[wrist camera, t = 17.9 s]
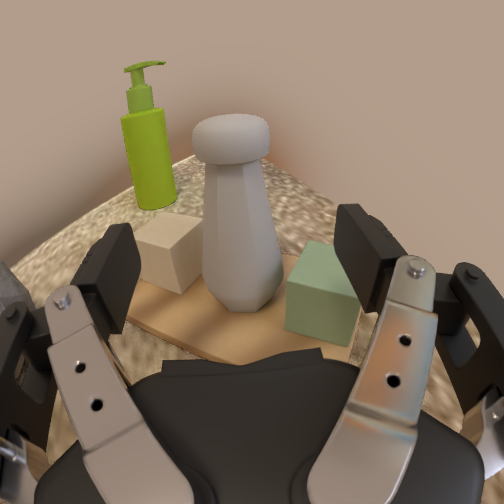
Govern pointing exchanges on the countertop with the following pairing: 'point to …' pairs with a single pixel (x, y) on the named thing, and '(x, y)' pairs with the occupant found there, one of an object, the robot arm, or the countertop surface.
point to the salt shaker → (237, 212)
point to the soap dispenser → (147, 144)
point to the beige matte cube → (171, 250)
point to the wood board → (224, 323)
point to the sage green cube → (321, 297)
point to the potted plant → (13, 298)
